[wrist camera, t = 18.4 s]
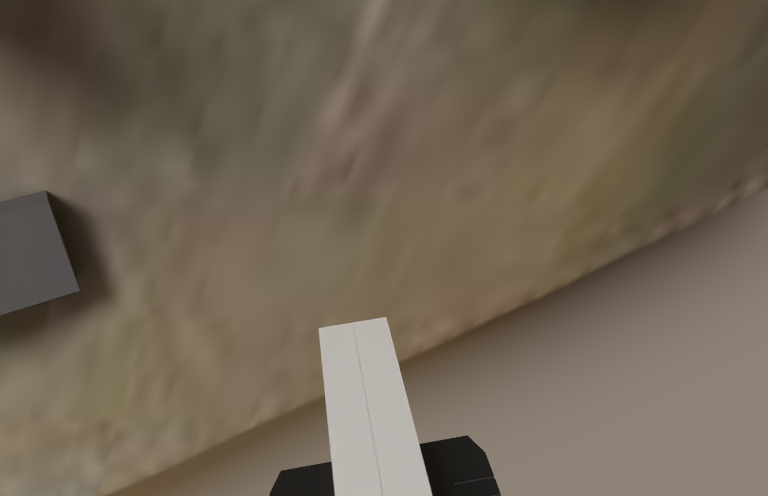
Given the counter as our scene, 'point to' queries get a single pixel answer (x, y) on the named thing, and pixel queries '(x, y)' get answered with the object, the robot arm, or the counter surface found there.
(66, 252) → the domino
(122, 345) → the counter surface
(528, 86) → the counter surface
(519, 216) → the counter surface
